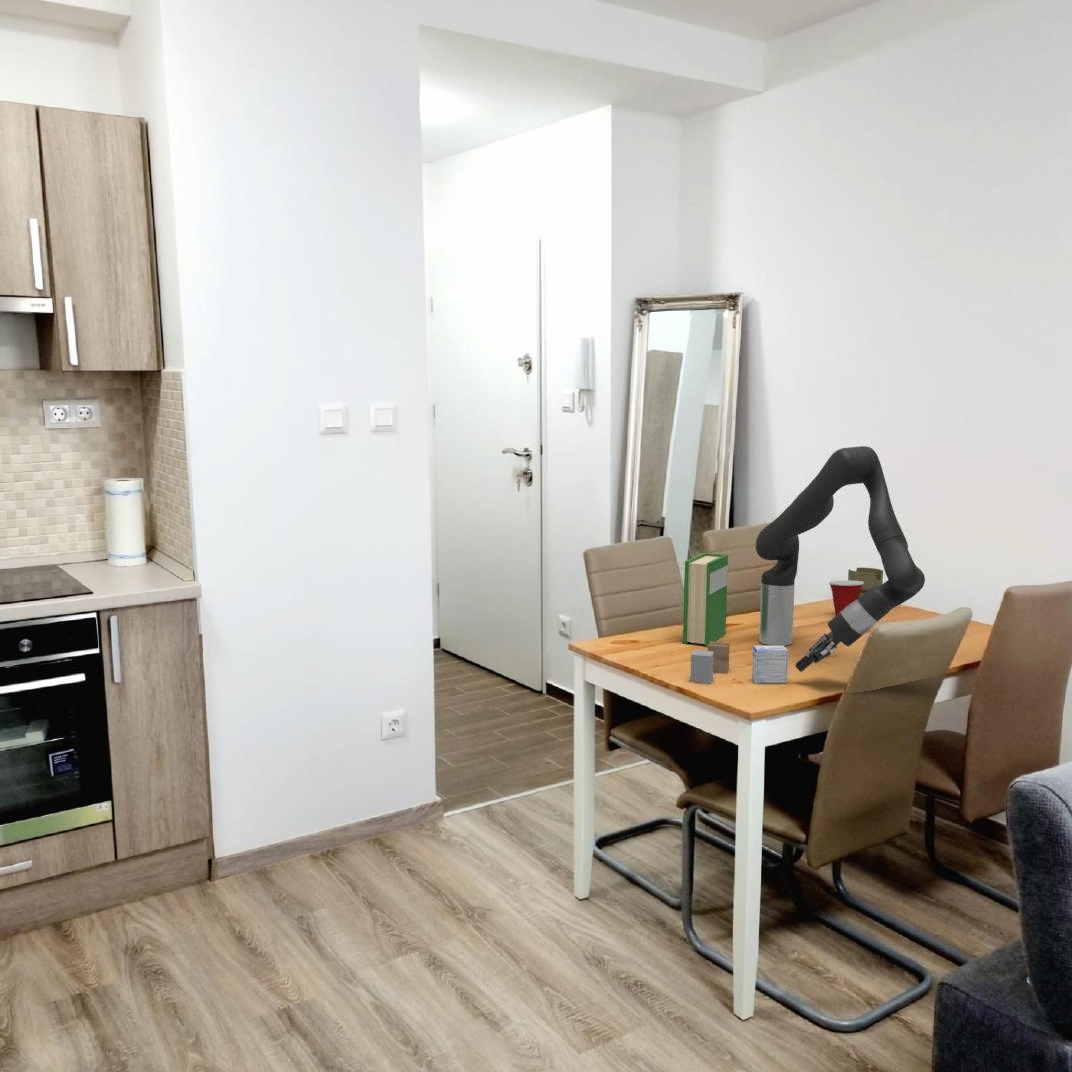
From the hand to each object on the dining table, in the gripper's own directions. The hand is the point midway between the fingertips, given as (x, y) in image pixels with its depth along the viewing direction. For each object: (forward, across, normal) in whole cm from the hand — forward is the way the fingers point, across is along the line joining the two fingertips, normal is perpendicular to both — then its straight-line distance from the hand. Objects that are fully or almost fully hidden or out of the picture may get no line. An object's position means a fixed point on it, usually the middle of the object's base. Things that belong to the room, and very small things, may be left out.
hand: (797, 668), depth 252 cm
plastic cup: (-6, -85, +12) cm, 86 cm away
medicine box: (+8, 0, -2) cm, 8 cm away
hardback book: (+22, -41, -16) cm, 49 cm away
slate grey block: (+19, +4, -13) cm, 24 cm away
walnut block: (+17, -7, -11) cm, 21 cm away
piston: (-12, -110, +18) cm, 112 cm away
